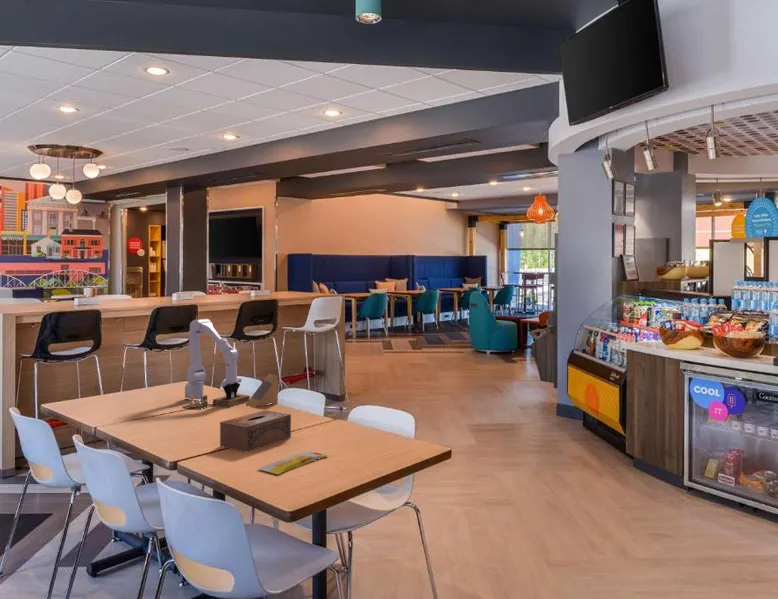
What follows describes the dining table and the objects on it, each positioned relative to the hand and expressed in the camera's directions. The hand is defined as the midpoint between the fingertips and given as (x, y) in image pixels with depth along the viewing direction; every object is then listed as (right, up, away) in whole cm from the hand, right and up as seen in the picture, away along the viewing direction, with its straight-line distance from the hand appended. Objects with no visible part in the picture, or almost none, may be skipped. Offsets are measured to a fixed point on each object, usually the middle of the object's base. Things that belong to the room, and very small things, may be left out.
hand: (231, 397), depth 328 cm
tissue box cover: (+29, -7, -73) cm, 79 cm away
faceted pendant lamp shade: (-15, -2, -8) cm, 17 cm away
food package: (+49, -9, -102) cm, 113 cm away
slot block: (0, -3, 0) cm, 3 cm away
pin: (0, -3, 0) cm, 3 cm away
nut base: (-15, -3, -9) cm, 17 cm away
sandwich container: (+16, -4, -2) cm, 17 cm away
